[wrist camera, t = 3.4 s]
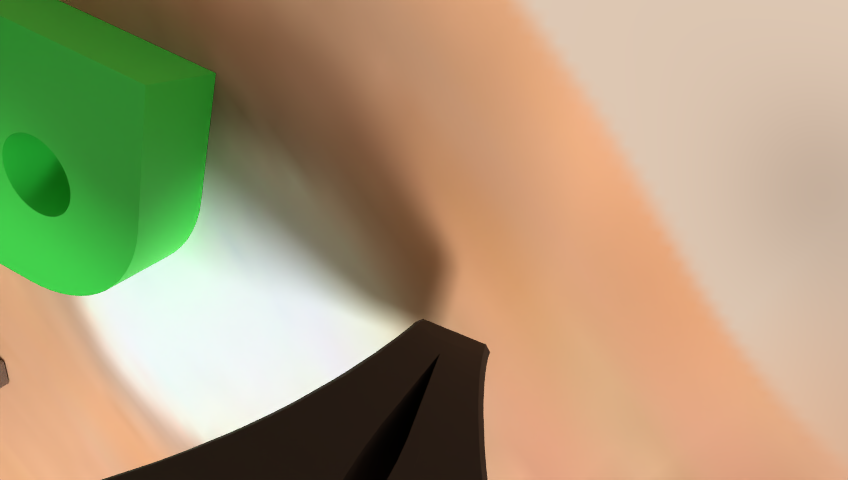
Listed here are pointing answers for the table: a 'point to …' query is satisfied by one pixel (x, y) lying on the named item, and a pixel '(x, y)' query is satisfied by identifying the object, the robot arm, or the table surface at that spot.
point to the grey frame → (3, 374)
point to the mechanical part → (94, 148)
